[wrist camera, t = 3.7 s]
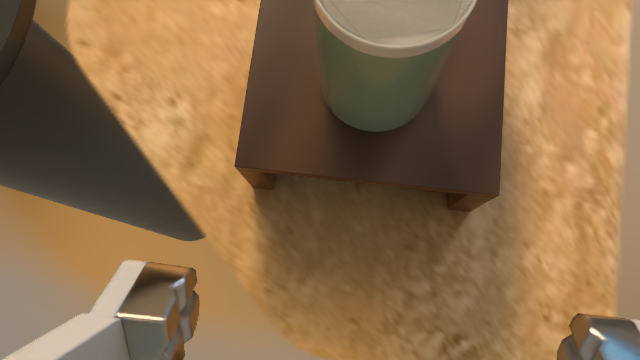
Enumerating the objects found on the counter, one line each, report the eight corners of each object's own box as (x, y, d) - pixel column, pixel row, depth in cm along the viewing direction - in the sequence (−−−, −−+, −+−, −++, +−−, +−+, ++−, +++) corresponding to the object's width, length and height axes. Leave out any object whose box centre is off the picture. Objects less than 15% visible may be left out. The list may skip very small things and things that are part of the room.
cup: (311, 126, 28) (298, 40, 18) (325, 21, 29) (319, -112, 20) (428, 138, 28) (479, 57, 18) (436, 31, 29) (487, -99, 19)
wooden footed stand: (252, 187, 34) (234, 166, 28) (276, 25, 36) (264, -26, 30) (470, 211, 33) (499, 195, 27) (479, 44, 35) (508, -5, 29)
